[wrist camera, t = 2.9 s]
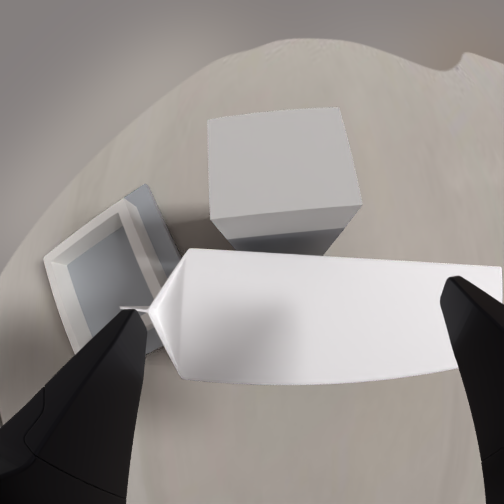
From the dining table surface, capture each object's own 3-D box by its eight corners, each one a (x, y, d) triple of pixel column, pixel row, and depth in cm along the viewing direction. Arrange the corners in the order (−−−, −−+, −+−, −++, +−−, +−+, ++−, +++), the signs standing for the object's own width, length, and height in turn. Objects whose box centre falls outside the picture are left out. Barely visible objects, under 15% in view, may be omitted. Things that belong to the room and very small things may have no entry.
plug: (319, 259, 21) (362, 204, 9) (249, 266, 21) (210, 219, 10) (312, 206, 22) (339, 107, 10) (245, 213, 22) (207, 119, 10)
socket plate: (213, 320, 21) (202, 322, 18) (95, 378, 21) (74, 385, 18) (149, 187, 23) (133, 172, 20) (50, 256, 23) (30, 251, 20)
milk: (499, 358, 13) (115, 374, 12) (447, 350, 19) (150, 354, 18) (502, 264, 14) (121, 243, 13) (449, 274, 20) (155, 261, 19)
